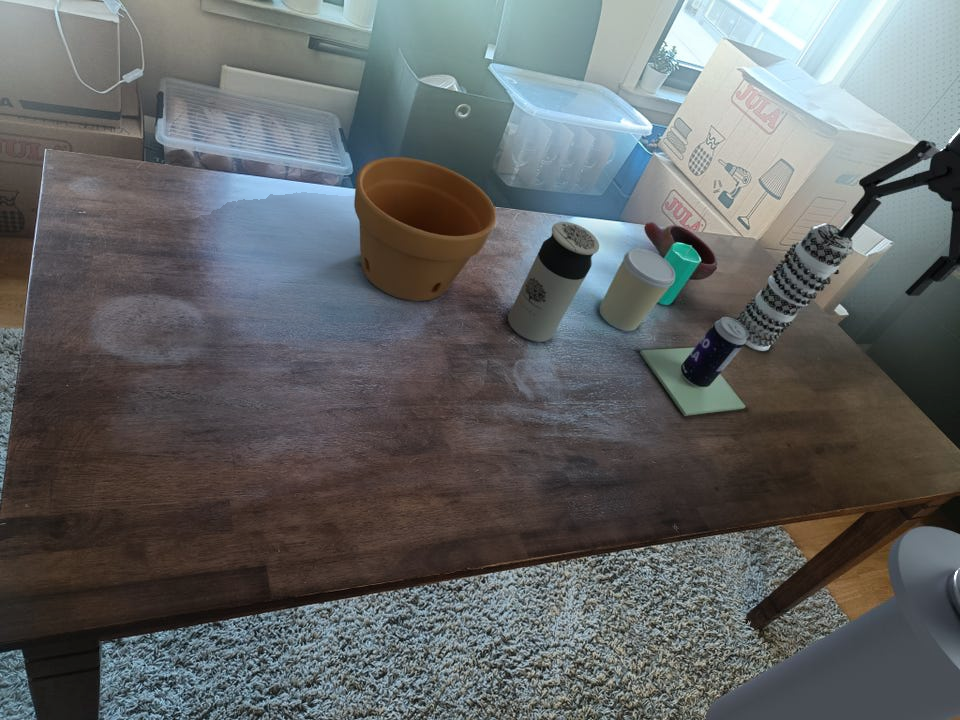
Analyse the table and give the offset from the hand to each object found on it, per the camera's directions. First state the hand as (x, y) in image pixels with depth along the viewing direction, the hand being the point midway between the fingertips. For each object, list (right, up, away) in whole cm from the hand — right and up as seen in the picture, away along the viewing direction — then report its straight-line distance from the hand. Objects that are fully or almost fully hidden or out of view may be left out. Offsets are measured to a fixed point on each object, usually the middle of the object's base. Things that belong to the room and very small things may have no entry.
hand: (876, 264), depth 94 cm
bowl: (-19, +5, +39) cm, 44 cm away
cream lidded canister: (-34, -7, +20) cm, 40 cm away
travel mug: (-51, -9, +9) cm, 53 cm away
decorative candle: (-6, -10, +31) cm, 33 cm away
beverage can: (-23, -18, +13) cm, 32 cm away
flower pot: (-72, 0, +8) cm, 72 cm away
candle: (-24, -2, +30) cm, 39 cm away
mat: (-23, -18, +13) cm, 32 cm away
